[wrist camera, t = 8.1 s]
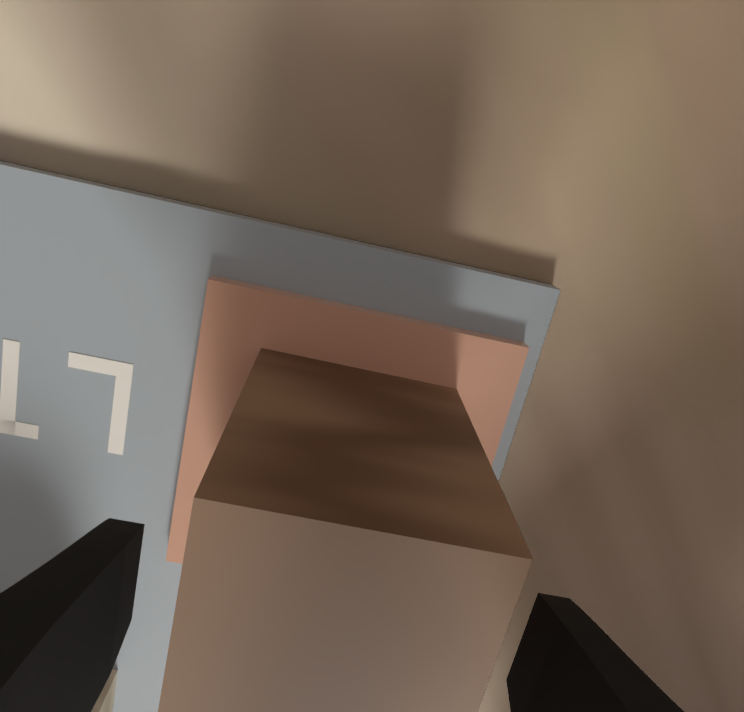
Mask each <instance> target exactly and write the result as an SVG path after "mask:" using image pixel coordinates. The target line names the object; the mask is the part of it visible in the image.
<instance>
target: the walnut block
mask: <svg viewBox="0 0 744 712" xmlns="http://www.w3.org/2000/svg"><path fill="white" fill-rule="evenodd" d="M532 561H533V559H532V556H531V554H530V552H529V550H528V547H527V545H526V543H525V541H524V538H523V536H522V534H521V532H520V529H519V527H518V525H517V523H516V521H515V518H514V516H513V514H512V512H511V509H510V507H509V505H508V503H507V500H506V498H505V496H504V494H503V491H502V489H501V487H500V485H499V483H498V480H497V478H496V476H495V474H494V471H493V469H492V467H491V465H490V462H489V460H488V458H487V456H486V453H485V451H484V449H483V447H482V445H481V442H480V440H479V438H478V436H477V433H476V431H475V429H474V427H473V424H472V422H471V420H470V418H469V415H468V413H467V411H466V409H465V407H464V404H463V402H462V400H461V398H460V395H459V393H458V391H457V389H455V388H450V387H445V386H441V385H436V384H431V383H426V382H422V381H417V380H412V379H407V378H403V377H398V376H393V375H388V374H384V373H379V372H374V371H369V370H365V369H360V368H355V367H350V366H345V365H341V364H336V363H331V362H326V361H322V360H317V359H312V358H307V357H303V356H298V355H293V354H288V353H284V352H279V351H274V350H269V349H265V348H261V349H260V351H259V354H258V356H257V358H256V360H255V362H254V365H253V367H252V369H251V371H250V373H249V376H248V378H247V380H246V382H245V385H244V387H243V389H242V391H241V393H240V396H239V398H238V400H237V402H236V405H235V407H234V409H233V411H232V413H231V416H230V418H229V420H228V422H227V425H226V427H225V429H224V431H223V433H222V436H221V438H220V440H219V442H218V445H217V447H216V449H215V451H214V453H213V456H212V458H211V460H210V462H209V465H208V467H207V469H206V471H205V473H204V476H203V478H202V480H201V482H200V485H199V487H198V489H197V491H196V493H195V496H194V499H193V505H192V510H191V516H190V522H189V528H188V534H187V540H186V546H185V552H184V558H183V564H182V570H181V576H180V582H179V588H178V594H177V600H176V606H175V612H174V618H173V624H172V630H171V636H170V642H169V648H168V654H167V660H166V666H165V672H164V678H163V684H162V690H161V696H160V702H159V708H158V712H478V709H479V706H480V704H481V701H482V698H483V695H484V693H485V690H486V687H487V684H488V682H489V679H490V676H491V673H492V671H493V668H494V665H495V662H496V660H497V657H498V654H499V652H500V649H501V646H502V643H503V641H504V638H505V635H506V632H507V630H508V627H509V624H510V621H511V619H512V616H513V613H514V610H515V608H516V605H517V602H518V599H519V597H520V594H521V591H522V589H523V586H524V583H525V580H526V578H527V575H528V572H529V569H530V567H531V564H532Z"/></svg>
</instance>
